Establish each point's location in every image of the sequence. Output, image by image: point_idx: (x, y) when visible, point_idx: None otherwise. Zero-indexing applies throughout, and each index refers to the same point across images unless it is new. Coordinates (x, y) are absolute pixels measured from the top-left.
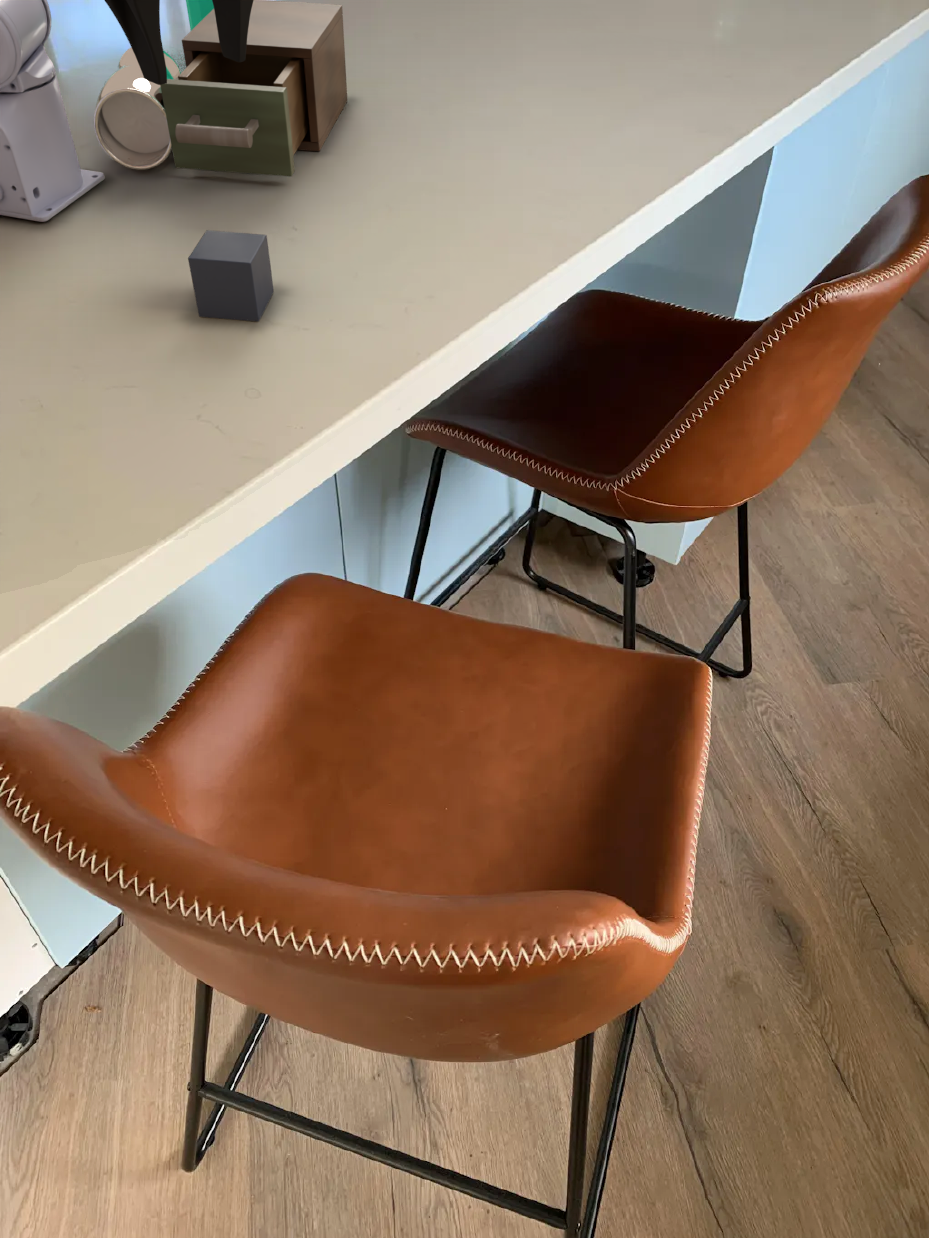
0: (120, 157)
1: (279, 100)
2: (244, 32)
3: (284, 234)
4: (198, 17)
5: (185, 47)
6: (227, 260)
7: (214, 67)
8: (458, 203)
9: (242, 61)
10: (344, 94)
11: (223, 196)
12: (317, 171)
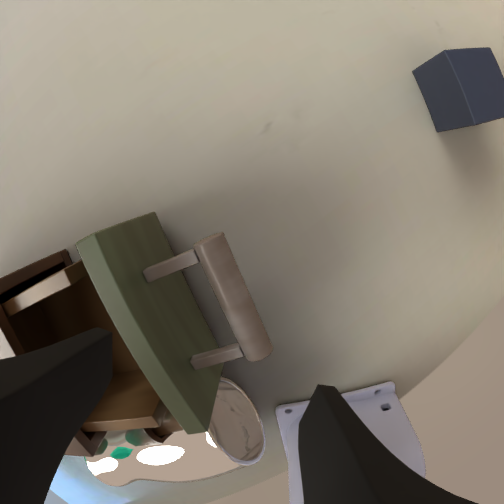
0: (243, 415)
1: (106, 238)
2: (64, 347)
3: (288, 130)
4: None
5: (94, 448)
6: (500, 71)
7: None
8: (104, 26)
9: (103, 329)
10: None
11: None
12: (104, 214)
